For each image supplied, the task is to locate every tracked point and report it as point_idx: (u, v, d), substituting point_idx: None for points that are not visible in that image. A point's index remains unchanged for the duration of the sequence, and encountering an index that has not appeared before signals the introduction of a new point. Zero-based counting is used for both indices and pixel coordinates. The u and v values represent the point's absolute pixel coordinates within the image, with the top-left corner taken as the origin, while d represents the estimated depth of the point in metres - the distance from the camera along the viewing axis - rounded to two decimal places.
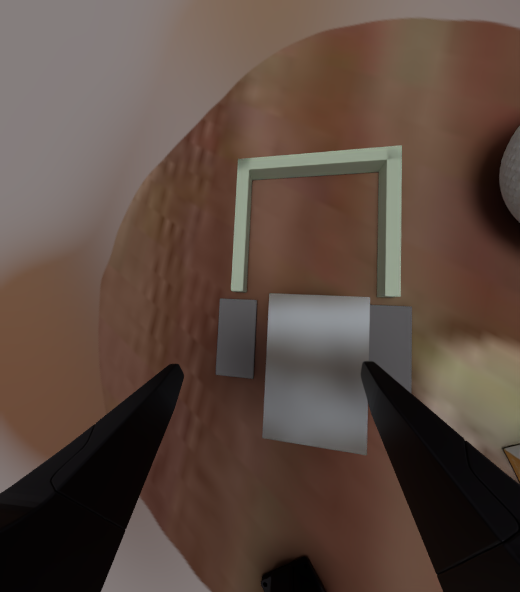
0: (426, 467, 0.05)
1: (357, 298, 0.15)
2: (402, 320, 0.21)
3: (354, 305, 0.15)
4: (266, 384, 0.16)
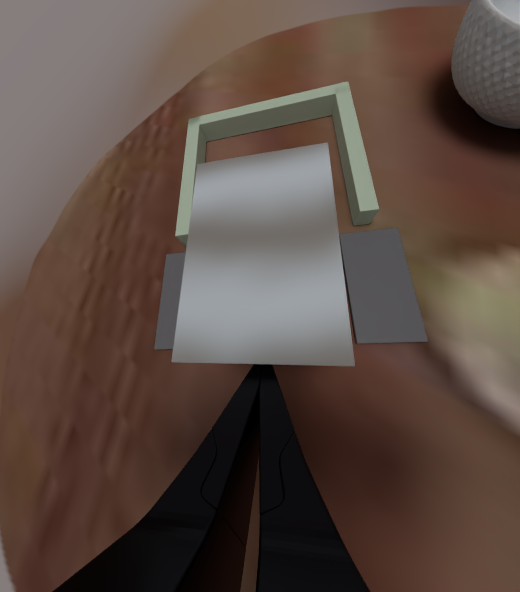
0: None
1: (311, 146, 0.11)
2: (389, 244, 0.17)
3: (307, 155, 0.11)
4: (184, 275, 0.10)
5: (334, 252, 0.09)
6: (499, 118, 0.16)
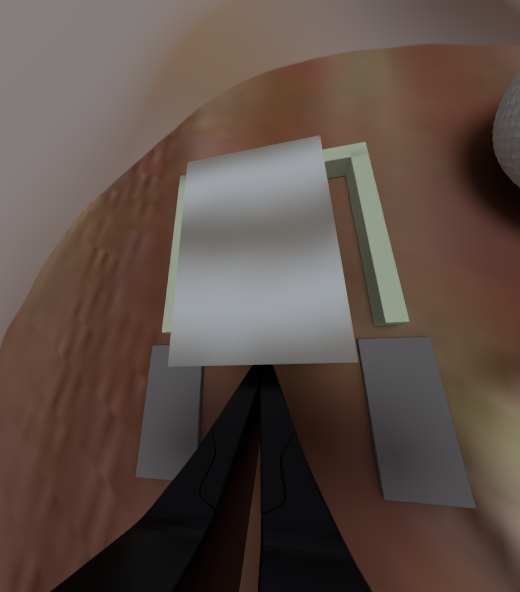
0: None
1: (303, 140, 0.11)
2: (420, 359, 0.14)
3: (300, 148, 0.10)
4: (178, 276, 0.10)
5: (331, 246, 0.09)
6: None
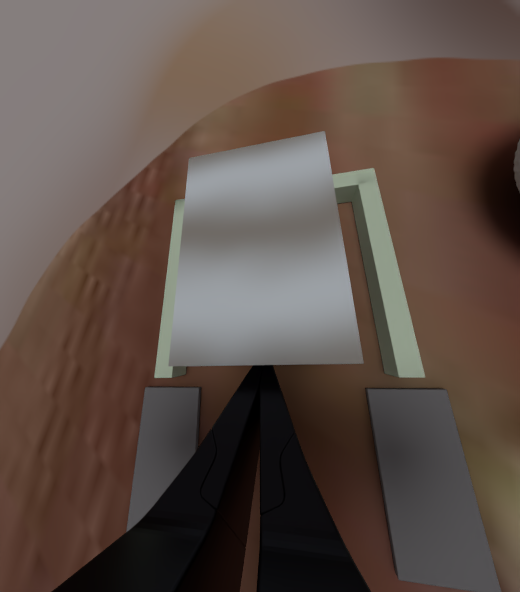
0: None
1: (307, 136, 0.10)
2: (437, 416, 0.12)
3: (304, 144, 0.10)
4: (179, 274, 0.09)
5: (336, 244, 0.08)
6: None
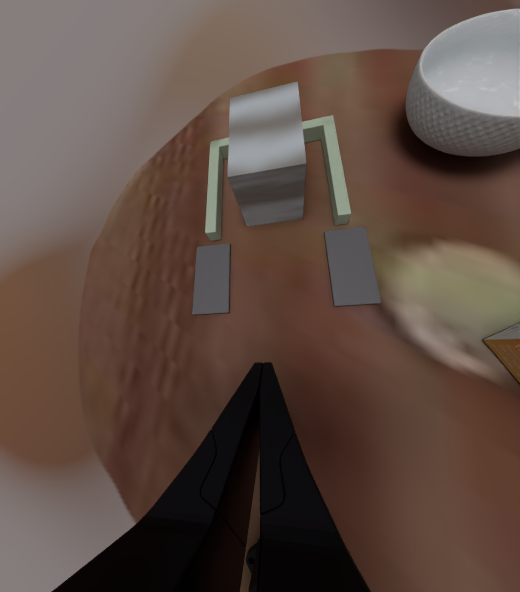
0: None
1: (289, 84, 0.21)
2: (359, 238, 0.24)
3: (287, 88, 0.21)
4: (229, 145, 0.21)
5: (299, 126, 0.20)
6: (436, 148, 0.23)
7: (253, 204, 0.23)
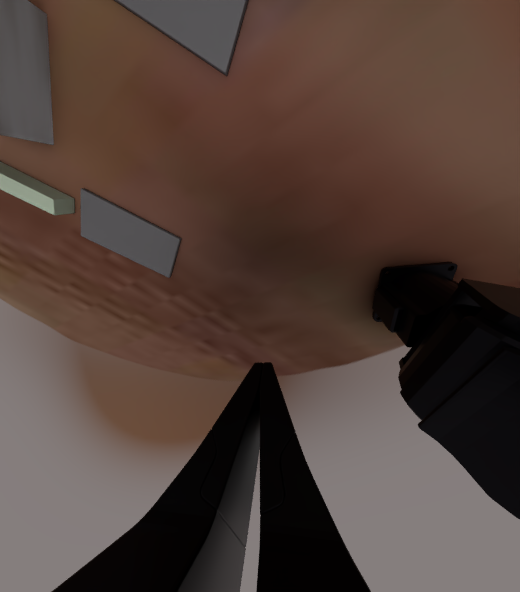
0: None
1: None
2: None
3: None
4: None
5: None
6: None
7: None
